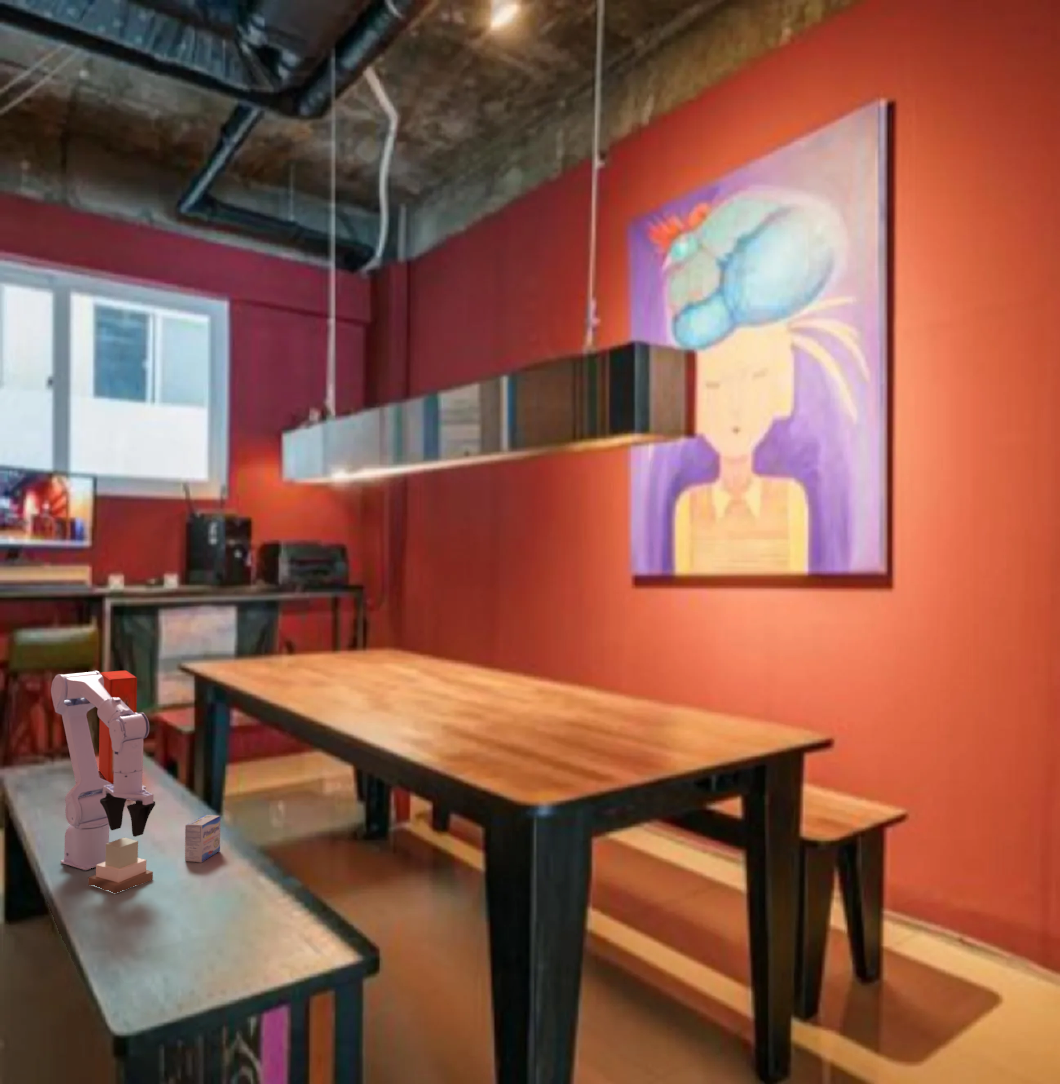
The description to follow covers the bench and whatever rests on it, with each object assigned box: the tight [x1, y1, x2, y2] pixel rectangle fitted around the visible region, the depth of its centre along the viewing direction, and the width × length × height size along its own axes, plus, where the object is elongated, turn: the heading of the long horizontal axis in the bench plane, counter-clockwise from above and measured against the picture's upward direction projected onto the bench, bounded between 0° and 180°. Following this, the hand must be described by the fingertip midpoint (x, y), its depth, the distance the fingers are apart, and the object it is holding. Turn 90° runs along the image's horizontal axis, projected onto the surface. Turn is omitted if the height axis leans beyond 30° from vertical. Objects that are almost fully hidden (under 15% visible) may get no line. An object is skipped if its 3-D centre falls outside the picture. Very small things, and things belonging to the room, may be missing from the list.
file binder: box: [98, 670, 138, 784], centre depth 266 cm, size 8×17×32 cm, turn 36°
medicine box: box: [184, 814, 222, 863], centre depth 198 cm, size 8×4×9 cm, turn 168°
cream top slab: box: [95, 857, 147, 882], centre depth 182 cm, size 7×7×2 cm
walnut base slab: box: [87, 869, 154, 894], centre depth 182 cm, size 9×9×2 cm
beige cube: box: [105, 837, 139, 869], centre depth 181 cm, size 4×4×4 cm
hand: (126, 832), depth 183 cm, fingers open, 7 cm apart
